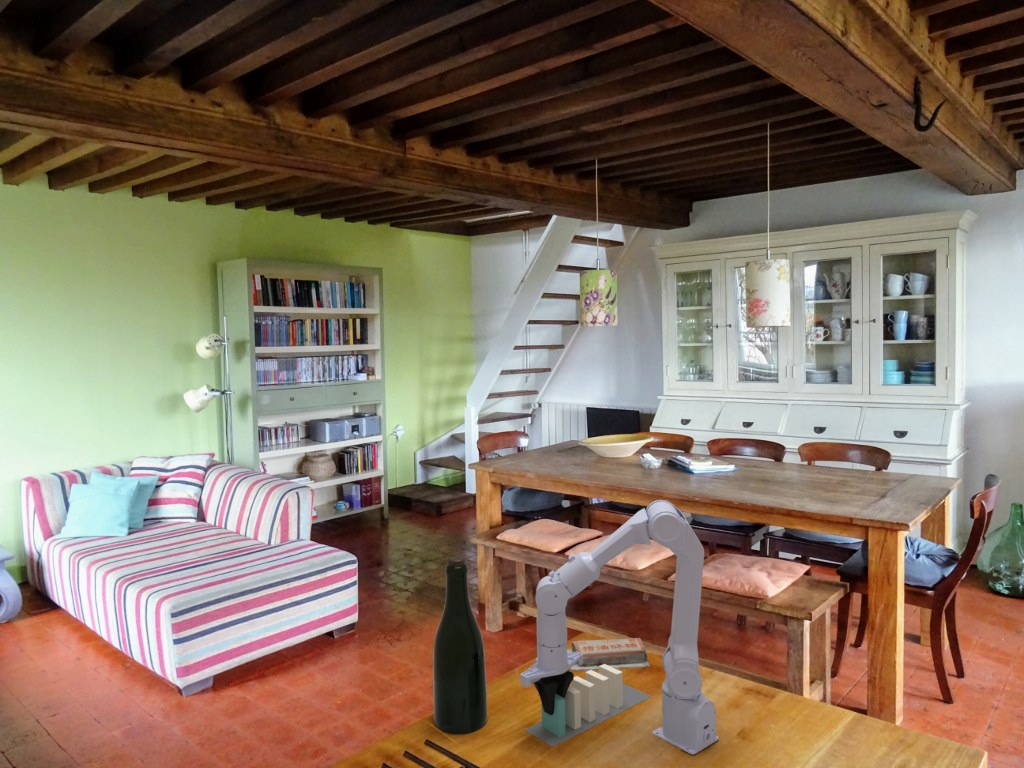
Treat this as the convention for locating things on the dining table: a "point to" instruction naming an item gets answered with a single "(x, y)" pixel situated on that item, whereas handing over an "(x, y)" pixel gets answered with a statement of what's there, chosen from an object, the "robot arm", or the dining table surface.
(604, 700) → the domino
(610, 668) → the domino
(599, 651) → the packaged product
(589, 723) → the mat
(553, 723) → the domino
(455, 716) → the beer bottle
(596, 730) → the dining table surface
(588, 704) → the domino
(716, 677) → the dining table surface
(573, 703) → the domino
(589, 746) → the dining table surface
